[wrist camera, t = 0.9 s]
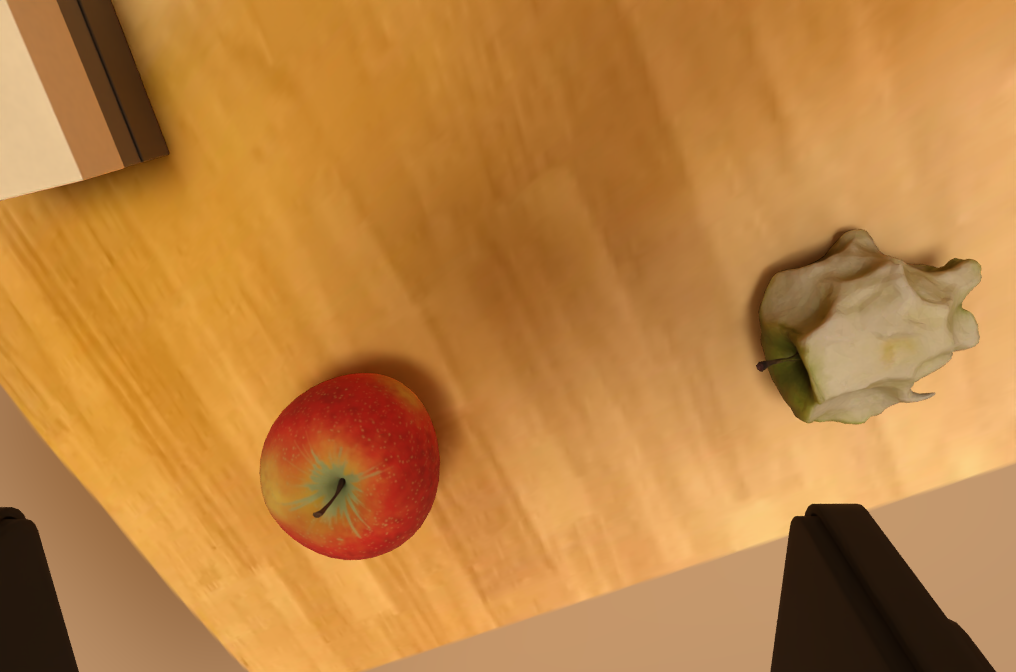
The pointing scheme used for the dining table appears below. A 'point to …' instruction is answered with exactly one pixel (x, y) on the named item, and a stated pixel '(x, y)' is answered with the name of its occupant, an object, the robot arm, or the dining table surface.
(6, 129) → the cream rectangular block
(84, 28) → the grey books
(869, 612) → the robot arm
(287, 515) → the apple
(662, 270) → the dining table surface
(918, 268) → the fruit
